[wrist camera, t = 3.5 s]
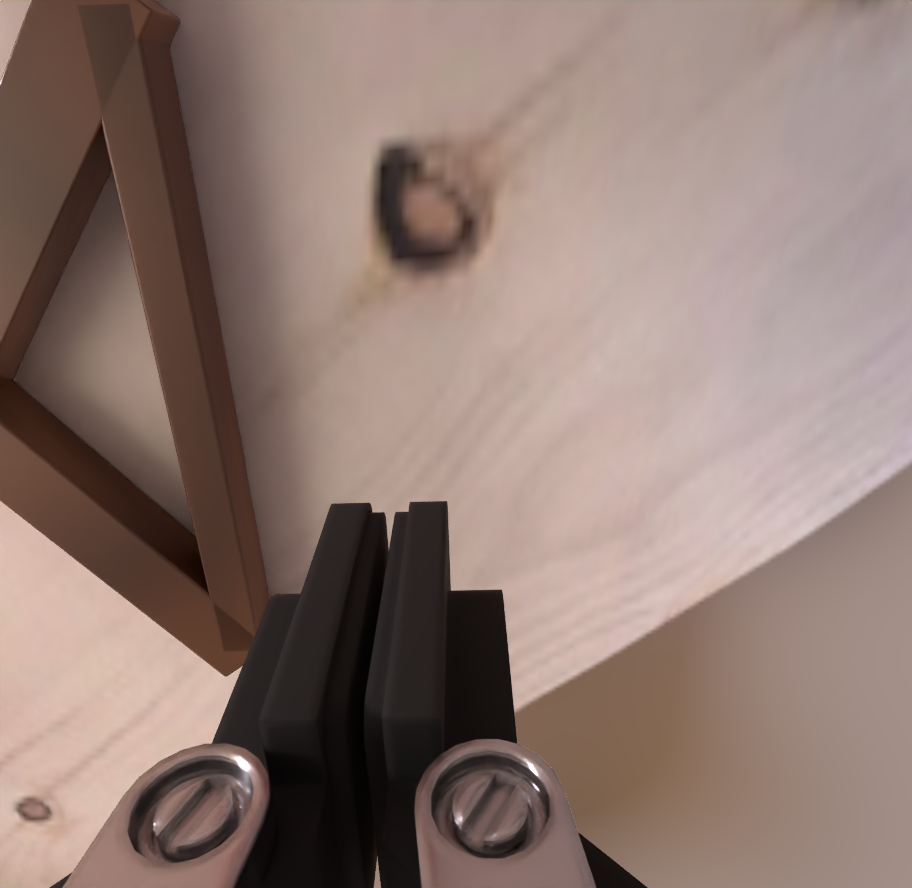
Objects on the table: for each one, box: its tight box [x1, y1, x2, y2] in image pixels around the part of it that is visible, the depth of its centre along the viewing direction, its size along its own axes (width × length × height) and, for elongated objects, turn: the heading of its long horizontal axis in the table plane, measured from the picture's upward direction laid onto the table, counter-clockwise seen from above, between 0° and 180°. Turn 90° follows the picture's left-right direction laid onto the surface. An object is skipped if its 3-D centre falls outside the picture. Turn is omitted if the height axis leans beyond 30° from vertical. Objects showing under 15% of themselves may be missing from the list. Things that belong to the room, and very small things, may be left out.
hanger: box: [0, 0, 270, 676], centre depth 18 cm, size 11×19×2 cm, turn 2°
